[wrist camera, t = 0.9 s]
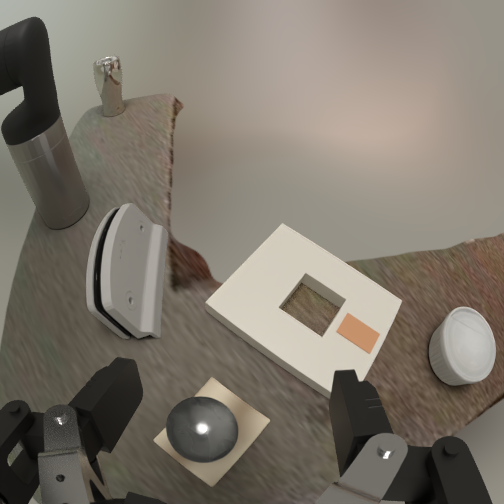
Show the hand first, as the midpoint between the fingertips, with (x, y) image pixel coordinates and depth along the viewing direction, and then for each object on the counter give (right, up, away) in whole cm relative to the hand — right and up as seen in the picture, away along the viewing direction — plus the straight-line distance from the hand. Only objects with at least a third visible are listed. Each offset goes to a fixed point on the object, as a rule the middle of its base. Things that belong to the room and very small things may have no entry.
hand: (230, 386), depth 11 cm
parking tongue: (-3, -14, +17) cm, 22 cm away
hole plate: (+8, -2, +26) cm, 28 cm away
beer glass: (-35, +41, +54) cm, 76 cm away
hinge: (-15, +1, +27) cm, 31 cm away
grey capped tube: (-3, -14, +16) cm, 21 cm away
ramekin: (+30, -10, +23) cm, 39 cm away
